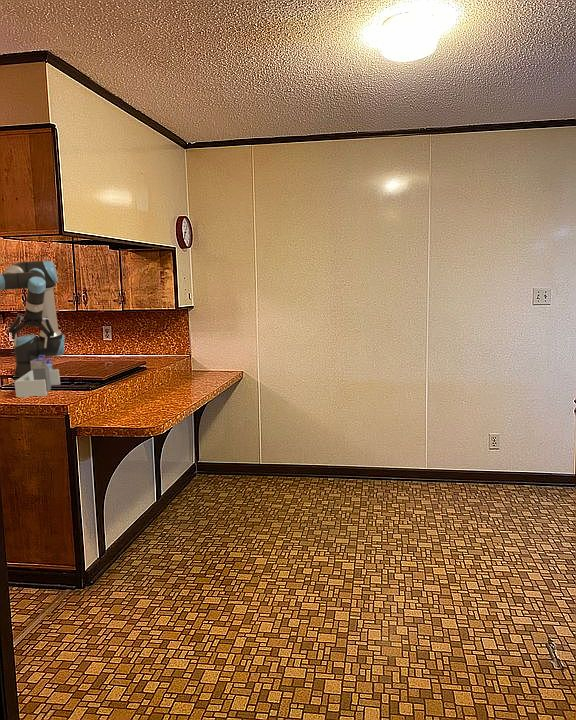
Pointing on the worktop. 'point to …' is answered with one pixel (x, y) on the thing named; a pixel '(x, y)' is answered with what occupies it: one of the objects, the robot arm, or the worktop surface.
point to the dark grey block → (42, 375)
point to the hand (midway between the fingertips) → (30, 345)
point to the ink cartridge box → (41, 362)
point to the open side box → (35, 384)
